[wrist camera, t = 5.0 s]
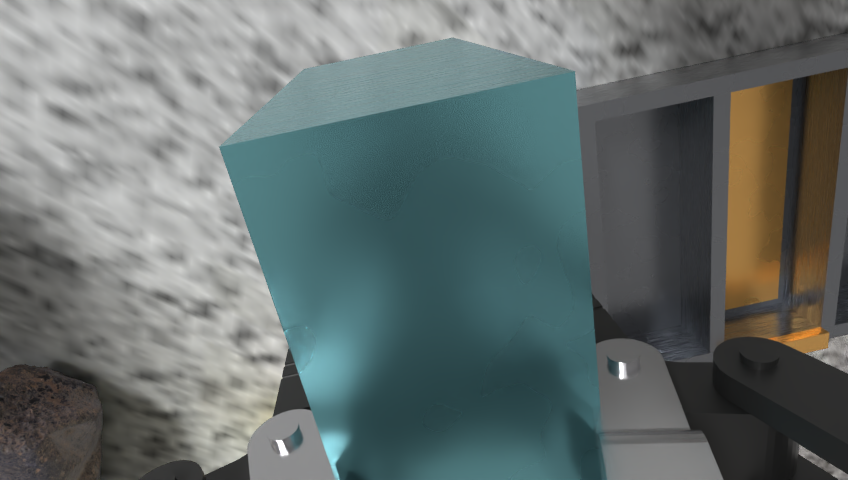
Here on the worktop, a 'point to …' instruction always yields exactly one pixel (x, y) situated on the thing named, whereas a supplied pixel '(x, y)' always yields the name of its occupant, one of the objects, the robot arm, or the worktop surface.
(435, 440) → the teal block
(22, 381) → the perforated stone tool
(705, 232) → the compartment tray
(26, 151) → the worktop surface
